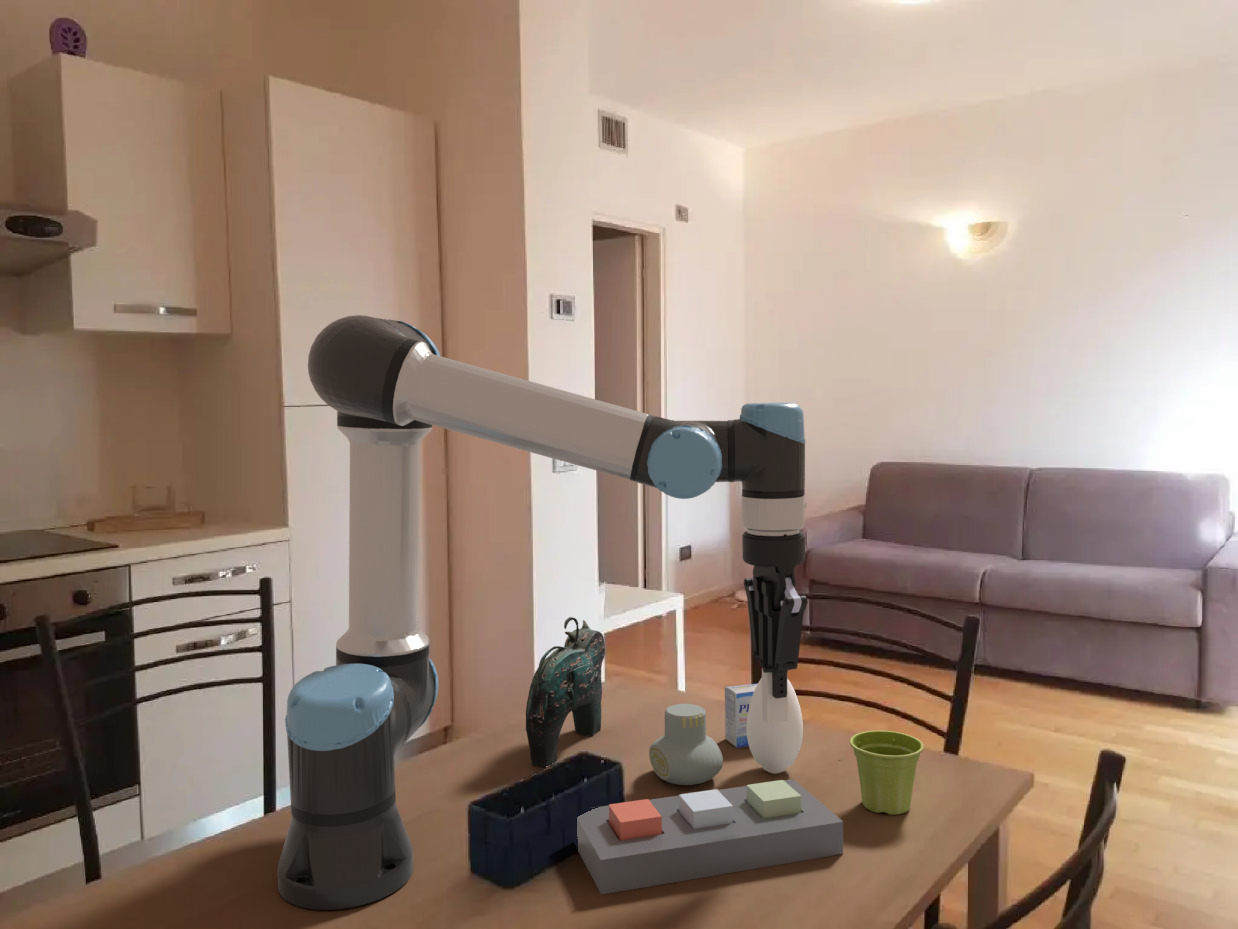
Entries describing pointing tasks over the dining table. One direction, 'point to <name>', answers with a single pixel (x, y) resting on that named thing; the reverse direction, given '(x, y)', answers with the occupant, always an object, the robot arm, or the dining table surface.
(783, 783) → the green button
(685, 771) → the air freshener
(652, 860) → the button panel
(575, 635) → the dark green metal figure
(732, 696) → the medicine box
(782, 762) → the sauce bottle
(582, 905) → the dining table surface
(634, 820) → the red button
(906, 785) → the plant pot
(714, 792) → the white button
